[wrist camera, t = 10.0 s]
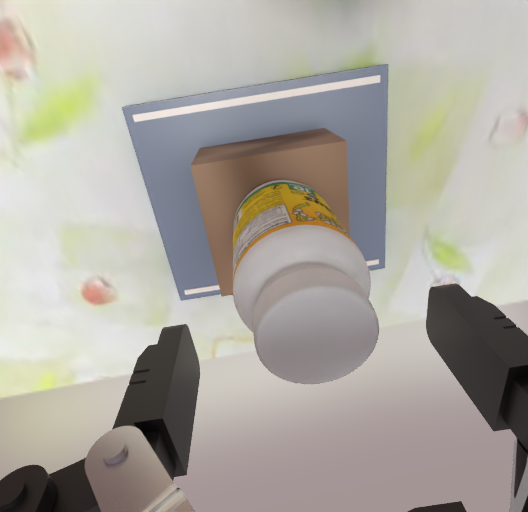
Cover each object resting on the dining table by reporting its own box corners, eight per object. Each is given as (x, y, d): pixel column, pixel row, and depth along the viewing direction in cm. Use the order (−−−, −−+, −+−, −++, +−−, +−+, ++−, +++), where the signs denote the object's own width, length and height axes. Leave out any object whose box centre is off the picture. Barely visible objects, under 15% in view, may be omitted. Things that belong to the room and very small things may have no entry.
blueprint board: (382, 64, 22) (388, 64, 21) (380, 262, 28) (385, 268, 27) (126, 106, 22) (121, 107, 21) (182, 293, 28) (180, 301, 27)
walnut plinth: (324, 127, 22) (346, 140, 18) (331, 241, 26) (351, 275, 21) (199, 148, 22) (190, 165, 18) (224, 258, 26) (221, 296, 21)
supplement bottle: (213, 214, 19) (195, 326, 11) (297, 156, 18) (351, 229, 9) (269, 282, 21) (291, 421, 13) (346, 234, 20) (427, 351, 12)
